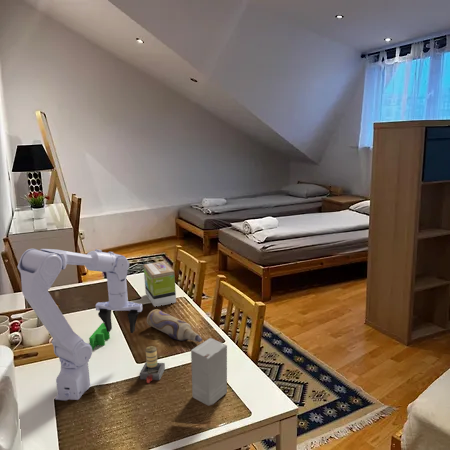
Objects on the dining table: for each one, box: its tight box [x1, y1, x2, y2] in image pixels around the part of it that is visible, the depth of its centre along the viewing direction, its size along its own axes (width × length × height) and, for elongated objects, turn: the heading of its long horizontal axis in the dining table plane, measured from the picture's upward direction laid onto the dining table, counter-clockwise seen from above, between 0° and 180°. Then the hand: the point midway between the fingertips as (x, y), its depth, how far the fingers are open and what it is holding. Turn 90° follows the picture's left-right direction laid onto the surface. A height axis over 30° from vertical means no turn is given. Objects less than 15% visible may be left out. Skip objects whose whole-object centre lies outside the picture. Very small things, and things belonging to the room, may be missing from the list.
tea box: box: [143, 260, 177, 308], centre depth 182 cm, size 15×10×15 cm, turn 25°
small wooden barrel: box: [145, 345, 158, 368], centre depth 126 cm, size 3×3×5 cm
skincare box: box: [190, 337, 228, 407], centre depth 115 cm, size 8×7×16 cm
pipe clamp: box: [88, 322, 111, 351], centre depth 148 cm, size 11×4×5 cm, turn 173°
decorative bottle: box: [146, 308, 203, 343], centre depth 151 cm, size 26×8×7 cm, turn 47°
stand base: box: [139, 362, 166, 384], centre depth 127 cm, size 10×10×3 cm
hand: (121, 331), depth 134 cm, fingers open, 7 cm apart
